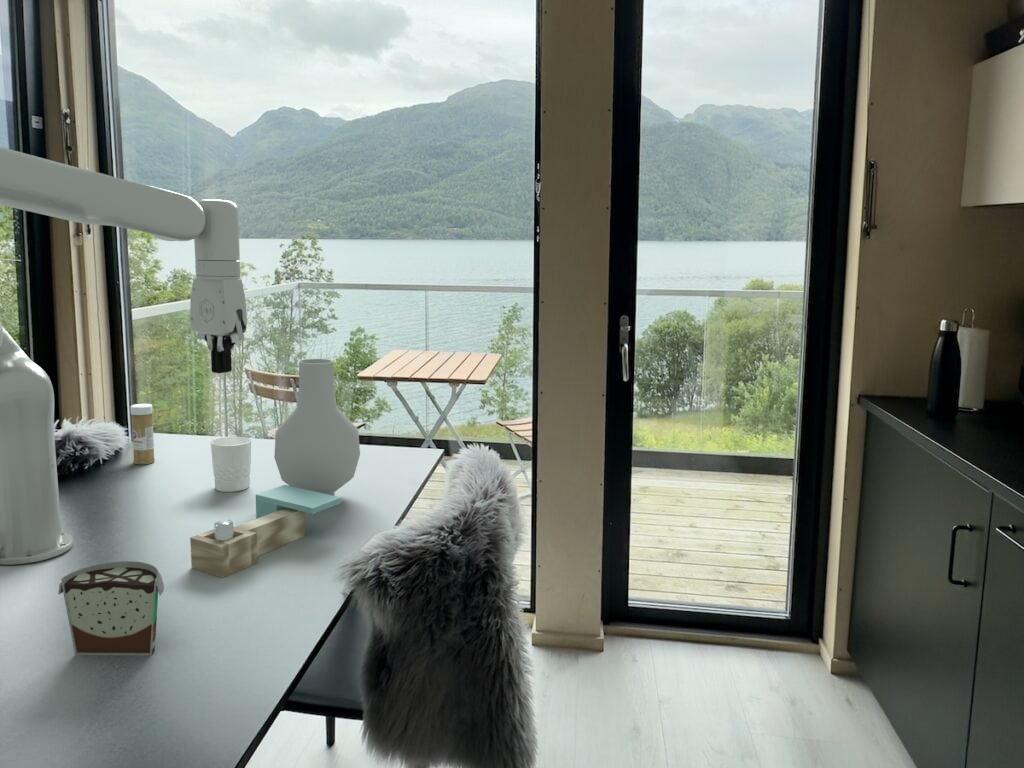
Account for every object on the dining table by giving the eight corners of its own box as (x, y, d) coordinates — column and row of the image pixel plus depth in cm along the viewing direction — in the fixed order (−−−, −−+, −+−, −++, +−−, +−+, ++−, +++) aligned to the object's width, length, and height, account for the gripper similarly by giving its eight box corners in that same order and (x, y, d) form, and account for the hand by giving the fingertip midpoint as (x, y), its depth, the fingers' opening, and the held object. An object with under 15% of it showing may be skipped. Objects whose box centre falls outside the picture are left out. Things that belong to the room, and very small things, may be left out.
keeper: (313, 544, 136) (313, 508, 135) (256, 529, 143) (255, 494, 141) (341, 532, 142) (341, 497, 141) (285, 518, 149) (284, 484, 147)
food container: (182, 631, 106) (178, 559, 104) (163, 655, 100) (159, 579, 98) (87, 631, 105) (82, 558, 104) (62, 654, 99) (56, 578, 97)
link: (222, 577, 123) (221, 546, 122) (191, 567, 126) (190, 537, 125) (314, 538, 140) (313, 510, 139) (284, 530, 143) (283, 503, 142)
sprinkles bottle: (128, 463, 182) (125, 405, 180) (144, 458, 187) (141, 402, 184) (144, 466, 181) (141, 407, 179) (159, 461, 185) (156, 404, 183)
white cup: (258, 483, 171) (257, 437, 169) (242, 494, 163) (241, 446, 161) (223, 481, 171) (221, 435, 170) (205, 492, 164) (203, 444, 162)
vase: (374, 491, 167) (373, 358, 162) (336, 516, 151) (334, 369, 146) (302, 483, 171) (299, 353, 166) (258, 507, 155) (254, 364, 151)
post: (224, 570, 125) (222, 527, 124) (212, 566, 127) (210, 524, 126) (238, 564, 128) (237, 522, 127) (226, 560, 129) (224, 519, 128)
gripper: (172, 269, 144) (176, 370, 147) (230, 272, 137) (234, 379, 140) (206, 268, 150) (210, 365, 153) (264, 271, 143) (266, 373, 146)
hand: (221, 371), depth 146 cm, fingers closed
